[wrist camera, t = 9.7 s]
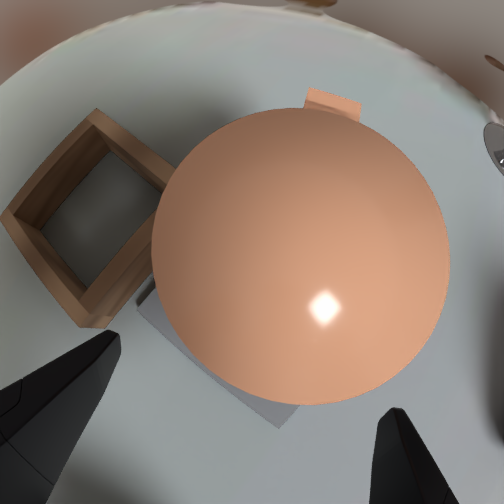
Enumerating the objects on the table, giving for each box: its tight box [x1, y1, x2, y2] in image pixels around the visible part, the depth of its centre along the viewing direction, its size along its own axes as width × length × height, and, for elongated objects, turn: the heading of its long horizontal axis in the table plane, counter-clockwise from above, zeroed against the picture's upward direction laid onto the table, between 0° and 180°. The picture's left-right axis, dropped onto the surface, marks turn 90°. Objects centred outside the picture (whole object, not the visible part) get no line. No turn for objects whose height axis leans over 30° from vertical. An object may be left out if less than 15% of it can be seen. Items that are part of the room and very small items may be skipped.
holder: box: [0, 108, 176, 329], centre depth 18 cm, size 10×10×4 cm
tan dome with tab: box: [151, 87, 450, 405], centre depth 12 cm, size 9×6×13 cm
